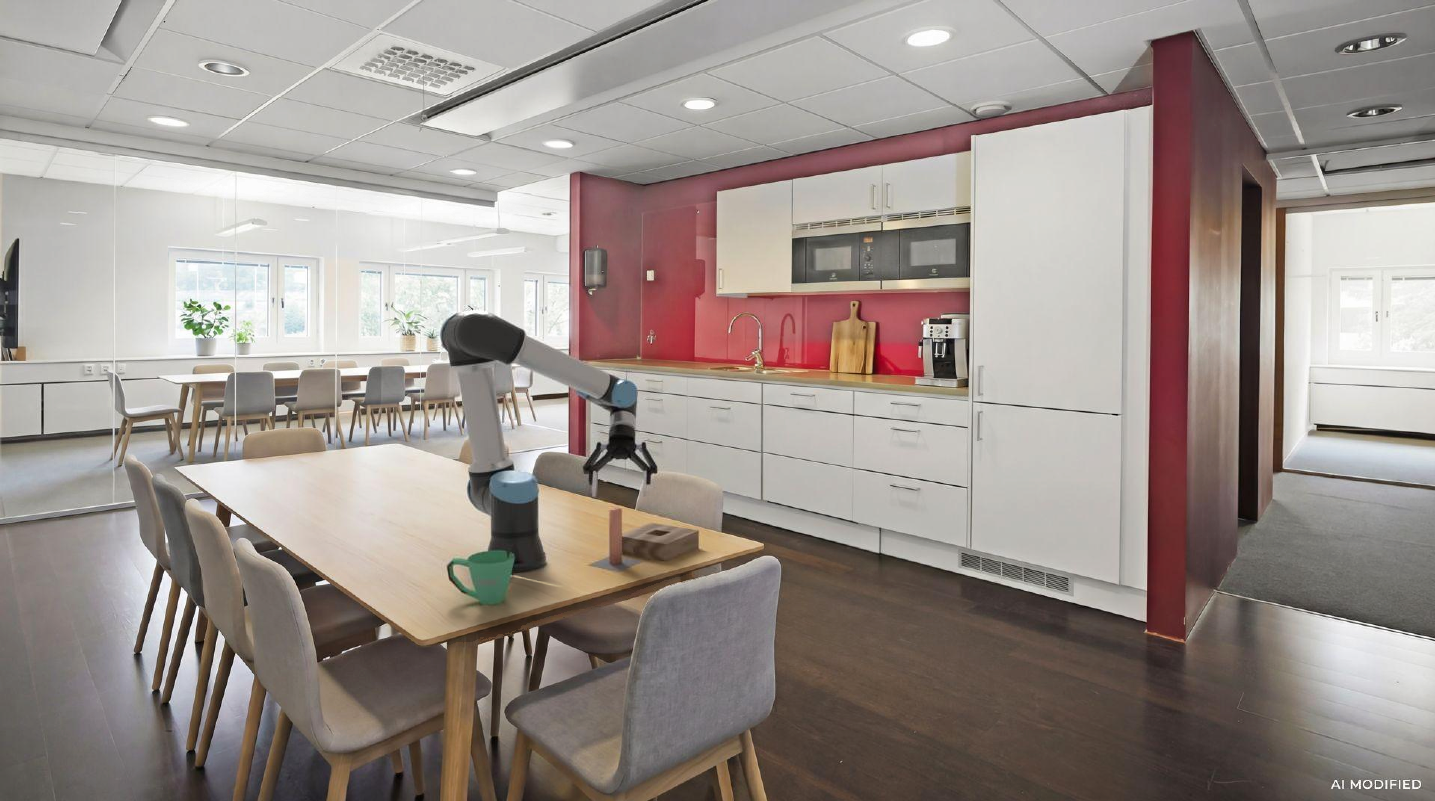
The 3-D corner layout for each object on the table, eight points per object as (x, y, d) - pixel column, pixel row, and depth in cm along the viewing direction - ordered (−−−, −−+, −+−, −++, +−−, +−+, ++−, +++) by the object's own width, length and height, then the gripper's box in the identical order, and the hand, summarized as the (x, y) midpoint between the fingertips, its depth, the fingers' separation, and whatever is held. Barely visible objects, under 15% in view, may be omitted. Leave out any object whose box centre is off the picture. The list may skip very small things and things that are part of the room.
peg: (606, 563, 189) (606, 509, 188) (614, 560, 192) (614, 507, 191) (616, 565, 188) (616, 511, 186) (624, 562, 190) (624, 508, 189)
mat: (587, 566, 188) (587, 564, 188) (612, 556, 197) (612, 555, 197) (619, 573, 183) (619, 571, 183) (643, 563, 192) (643, 561, 192)
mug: (520, 593, 168) (519, 550, 167) (507, 609, 159) (506, 563, 158) (455, 593, 168) (454, 549, 168) (439, 608, 159) (438, 563, 158)
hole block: (616, 553, 200) (616, 535, 199) (651, 539, 214) (651, 522, 213) (665, 563, 192) (665, 544, 191) (698, 548, 205) (698, 530, 205)
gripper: (666, 438, 216) (665, 501, 203) (579, 438, 215) (573, 501, 201) (666, 422, 210) (665, 485, 197) (577, 422, 209) (570, 486, 195)
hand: (619, 494), depth 199 cm, fingers open, 13 cm apart
